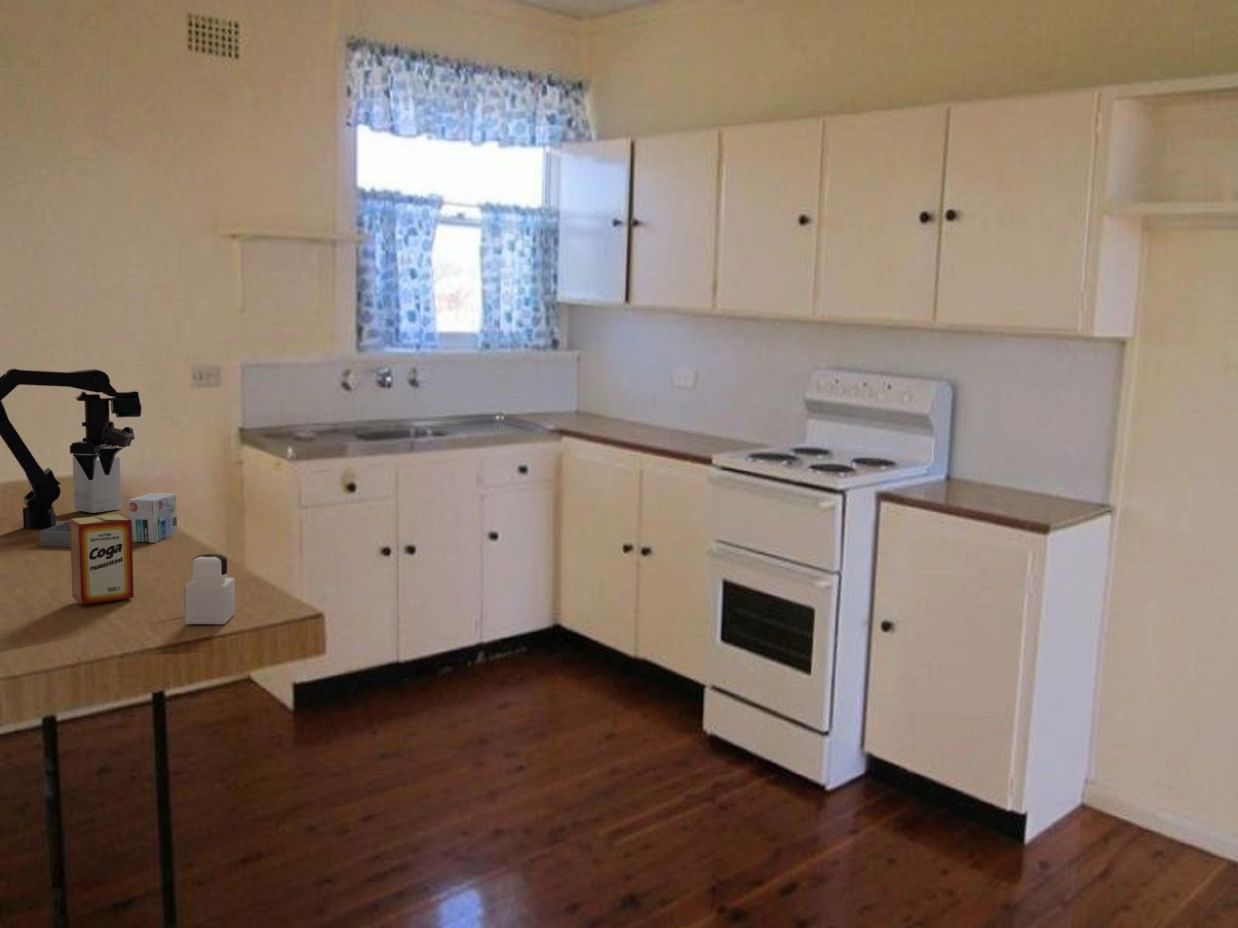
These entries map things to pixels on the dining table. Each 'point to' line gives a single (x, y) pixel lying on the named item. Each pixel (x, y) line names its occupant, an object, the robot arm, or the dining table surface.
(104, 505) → the supplement box
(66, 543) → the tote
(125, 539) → the baking soda box
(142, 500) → the light bulb box
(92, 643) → the dining table surface
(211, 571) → the medicine bottle
